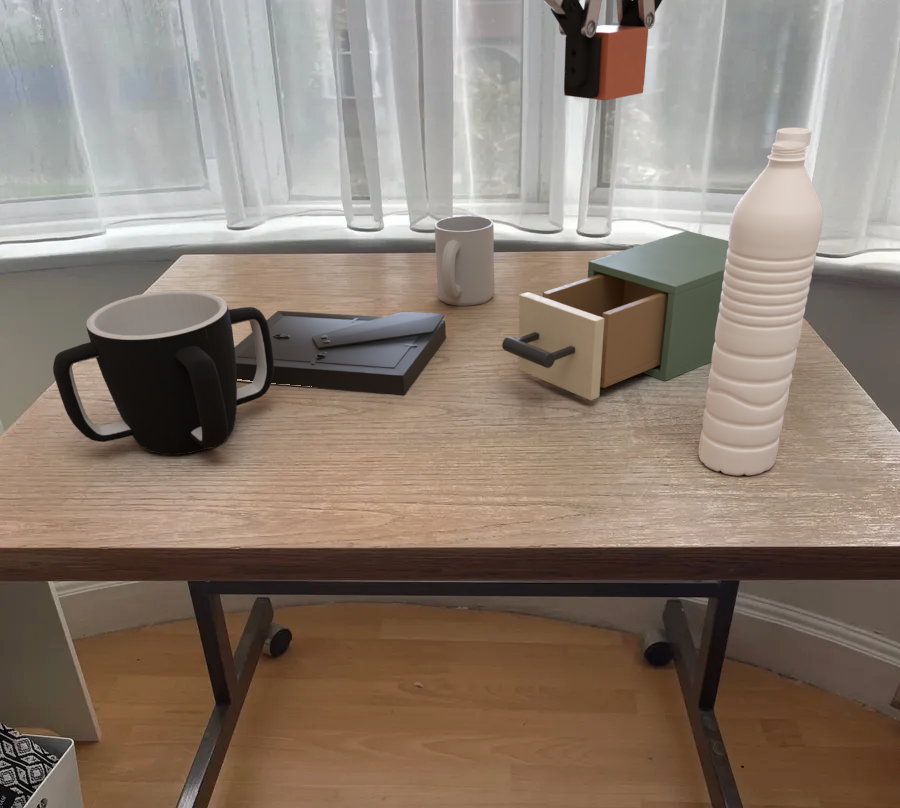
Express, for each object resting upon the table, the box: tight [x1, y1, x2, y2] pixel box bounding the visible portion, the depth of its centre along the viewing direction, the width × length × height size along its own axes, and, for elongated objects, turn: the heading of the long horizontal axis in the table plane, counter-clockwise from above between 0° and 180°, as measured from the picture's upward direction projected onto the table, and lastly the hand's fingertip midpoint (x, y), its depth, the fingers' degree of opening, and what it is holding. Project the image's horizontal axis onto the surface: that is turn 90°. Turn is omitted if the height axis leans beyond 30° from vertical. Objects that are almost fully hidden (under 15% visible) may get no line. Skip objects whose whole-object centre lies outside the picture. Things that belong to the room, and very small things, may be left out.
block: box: [563, 24, 649, 102], centre depth 70 cm, size 4×4×4 cm
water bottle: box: [697, 127, 824, 476], centre depth 71 cm, size 9×6×25 cm
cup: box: [433, 215, 495, 307], centre depth 111 cm, size 7×10×9 cm
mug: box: [52, 290, 274, 455], centre depth 82 cm, size 16×16×12 cm
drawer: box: [501, 273, 669, 401], centre depth 90 cm, size 19×10×8 cm, turn 129°
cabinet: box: [587, 230, 729, 382], centre depth 96 cm, size 16×12×10 cm
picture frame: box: [234, 310, 447, 396], centre depth 99 cm, size 16×3×21 cm
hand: (604, 89), depth 71 cm, fingers closed on block, 4 cm apart
